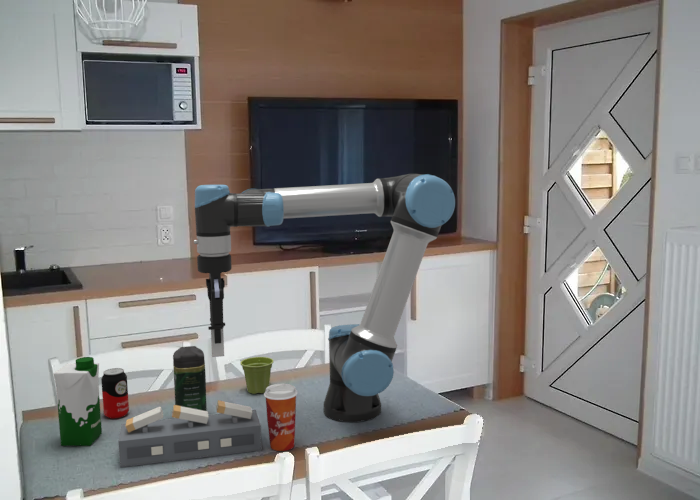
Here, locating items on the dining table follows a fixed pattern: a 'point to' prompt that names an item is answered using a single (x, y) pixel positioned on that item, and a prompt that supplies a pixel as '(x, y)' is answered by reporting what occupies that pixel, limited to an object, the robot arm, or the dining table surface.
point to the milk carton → (78, 402)
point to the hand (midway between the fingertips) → (218, 355)
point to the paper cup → (281, 415)
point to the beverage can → (115, 393)
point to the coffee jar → (190, 378)
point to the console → (189, 439)
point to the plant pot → (257, 373)
